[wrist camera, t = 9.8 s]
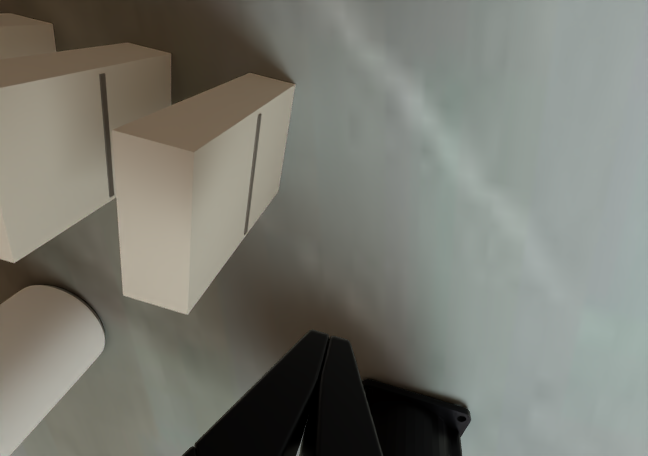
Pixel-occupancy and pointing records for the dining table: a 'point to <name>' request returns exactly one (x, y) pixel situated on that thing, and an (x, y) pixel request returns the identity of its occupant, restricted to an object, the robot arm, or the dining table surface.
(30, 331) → the can
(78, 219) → the domino
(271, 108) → the domino
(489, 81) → the dining table surface
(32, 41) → the domino
